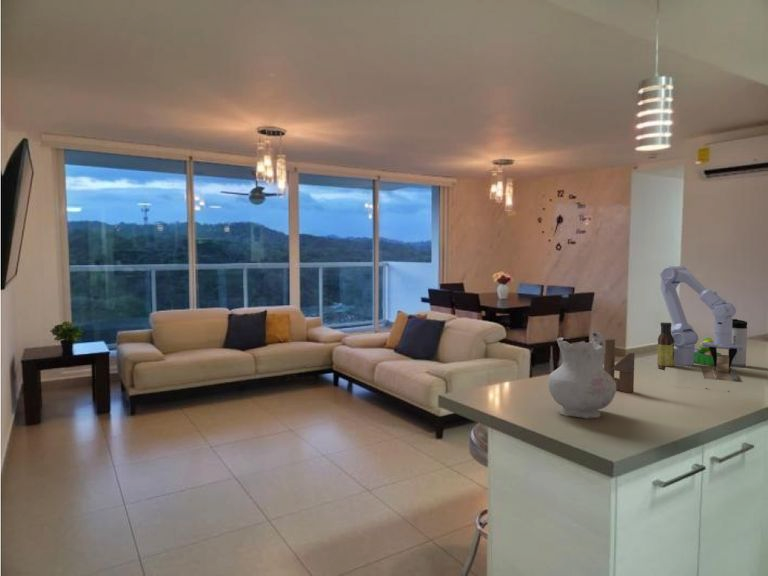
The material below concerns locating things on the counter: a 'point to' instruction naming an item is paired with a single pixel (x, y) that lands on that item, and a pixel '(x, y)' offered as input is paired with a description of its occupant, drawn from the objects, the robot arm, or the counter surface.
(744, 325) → the travel mug
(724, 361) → the maple block
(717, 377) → the walnut board
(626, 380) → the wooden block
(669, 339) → the sauce bottle
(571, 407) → the ceramic pitcher
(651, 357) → the counter surface
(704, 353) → the fruit basket
